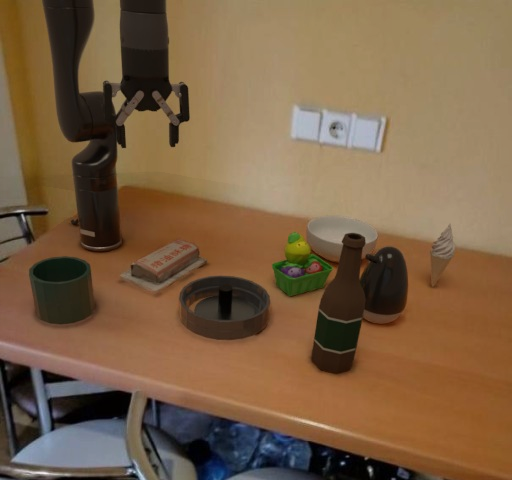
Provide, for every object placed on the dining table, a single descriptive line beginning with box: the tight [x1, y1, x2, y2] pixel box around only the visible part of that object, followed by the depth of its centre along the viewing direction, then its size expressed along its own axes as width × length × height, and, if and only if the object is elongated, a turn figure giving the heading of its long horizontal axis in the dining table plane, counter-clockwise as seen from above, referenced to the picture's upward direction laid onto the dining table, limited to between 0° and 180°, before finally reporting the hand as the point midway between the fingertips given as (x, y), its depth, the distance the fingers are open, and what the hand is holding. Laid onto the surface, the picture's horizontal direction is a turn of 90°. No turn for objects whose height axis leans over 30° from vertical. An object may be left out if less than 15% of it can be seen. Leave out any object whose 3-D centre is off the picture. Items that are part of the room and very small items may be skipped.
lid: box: [194, 284, 255, 320], centre depth 107 cm, size 12×12×6 cm
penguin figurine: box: [360, 245, 409, 325], centre depth 109 cm, size 10×10×15 cm
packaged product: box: [119, 238, 208, 295], centre depth 121 cm, size 18×5×10 cm
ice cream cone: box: [429, 223, 456, 288], centre depth 121 cm, size 5×5×15 cm
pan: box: [178, 275, 271, 341], centre depth 108 cm, size 17×17×4 cm
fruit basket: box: [271, 231, 334, 297], centre depth 118 cm, size 11×9×11 cm
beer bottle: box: [311, 233, 366, 375], centre depth 93 cm, size 8×8×24 cm
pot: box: [28, 255, 96, 326], centre depth 105 cm, size 11×11×9 cm
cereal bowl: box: [305, 215, 379, 264], centre depth 133 cm, size 17×17×7 cm
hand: (148, 146), depth 98 cm, fingers open, 8 cm apart
